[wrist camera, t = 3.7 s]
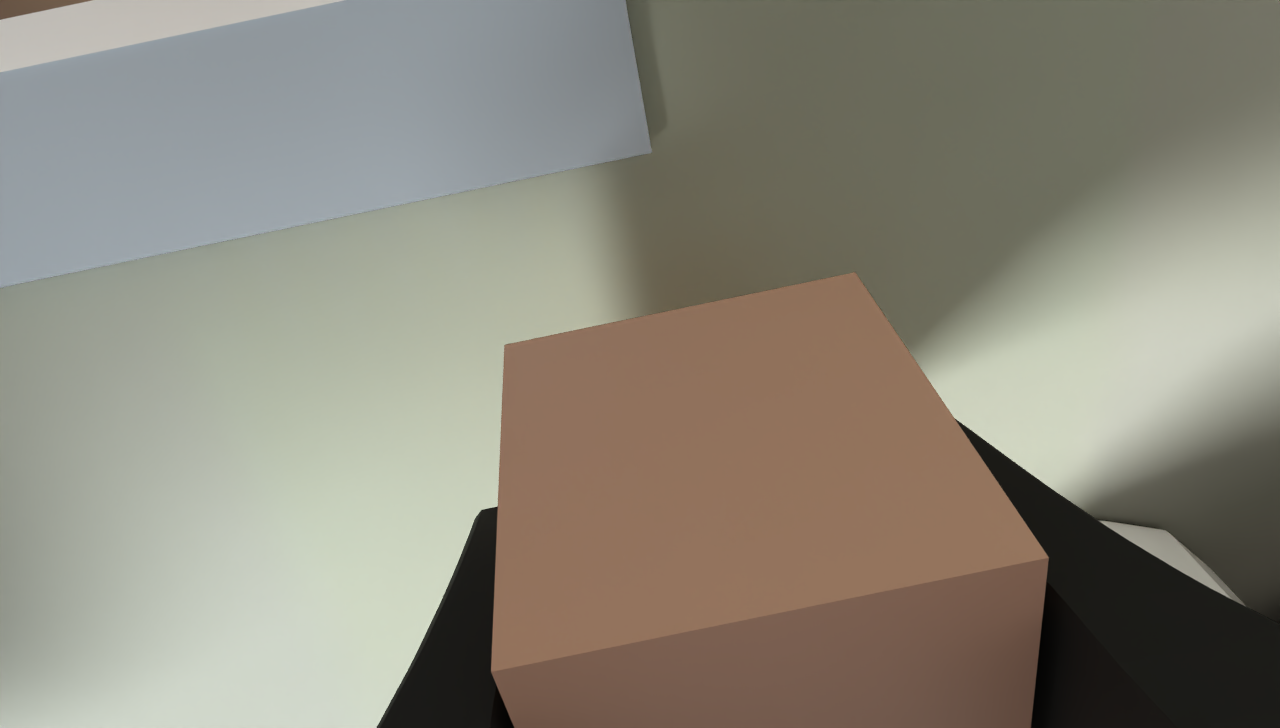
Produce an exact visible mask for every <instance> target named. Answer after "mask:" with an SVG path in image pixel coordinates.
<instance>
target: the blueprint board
mask: <svg viewBox="0 0 1280 728" xmlns="http://www.w3.org/2000/svg"><path fill="white" fill-rule="evenodd" d="M648 153H652V149H651V144H650V138H649V132H648V127H647V121H646V115H645V109H644V104H643V98H642V92H641V86H640V81H639V75H638V69H637V63H636V58H635V52H634V46H633V41H632V35H631V29H630V23H629V18H628V12H627V6H626V0H92V1H87V2H82V3H78V4H73V5H68V6H63V7H59V8H54V9H49V10H44V11H40V12H35V13H30V14H25V15H21V16H16V17H11V18H6V19H1V20H0V288H1V287H6V286H11V285H16V284H21V283H26V282H30V281H35V280H40V279H45V278H50V277H55V276H59V275H64V274H69V273H74V272H79V271H83V270H88V269H93V268H98V267H103V266H108V265H112V264H117V263H122V262H127V261H132V260H137V259H141V258H146V257H151V256H156V255H161V254H166V253H170V252H175V251H180V250H185V249H190V248H195V247H199V246H204V245H209V244H214V243H219V242H224V241H228V240H233V239H238V238H243V237H248V236H252V235H257V234H262V233H267V232H272V231H277V230H281V229H286V228H291V227H296V226H301V225H306V224H310V223H315V222H320V221H325V220H330V219H335V218H339V217H344V216H349V215H354V214H359V213H364V212H368V211H373V210H378V209H383V208H388V207H392V206H397V205H402V204H407V203H412V202H417V201H421V200H426V199H431V198H436V197H441V196H446V195H450V194H455V193H460V192H465V191H470V190H475V189H479V188H484V187H489V186H494V185H499V184H504V183H508V182H513V181H518V180H523V179H528V178H533V177H537V176H542V175H547V174H552V173H557V172H561V171H566V170H571V169H576V168H581V167H586V166H590V165H595V164H600V163H605V162H610V161H615V160H619V159H624V158H629V157H634V156H639V155H644V154H648Z"/></svg>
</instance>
